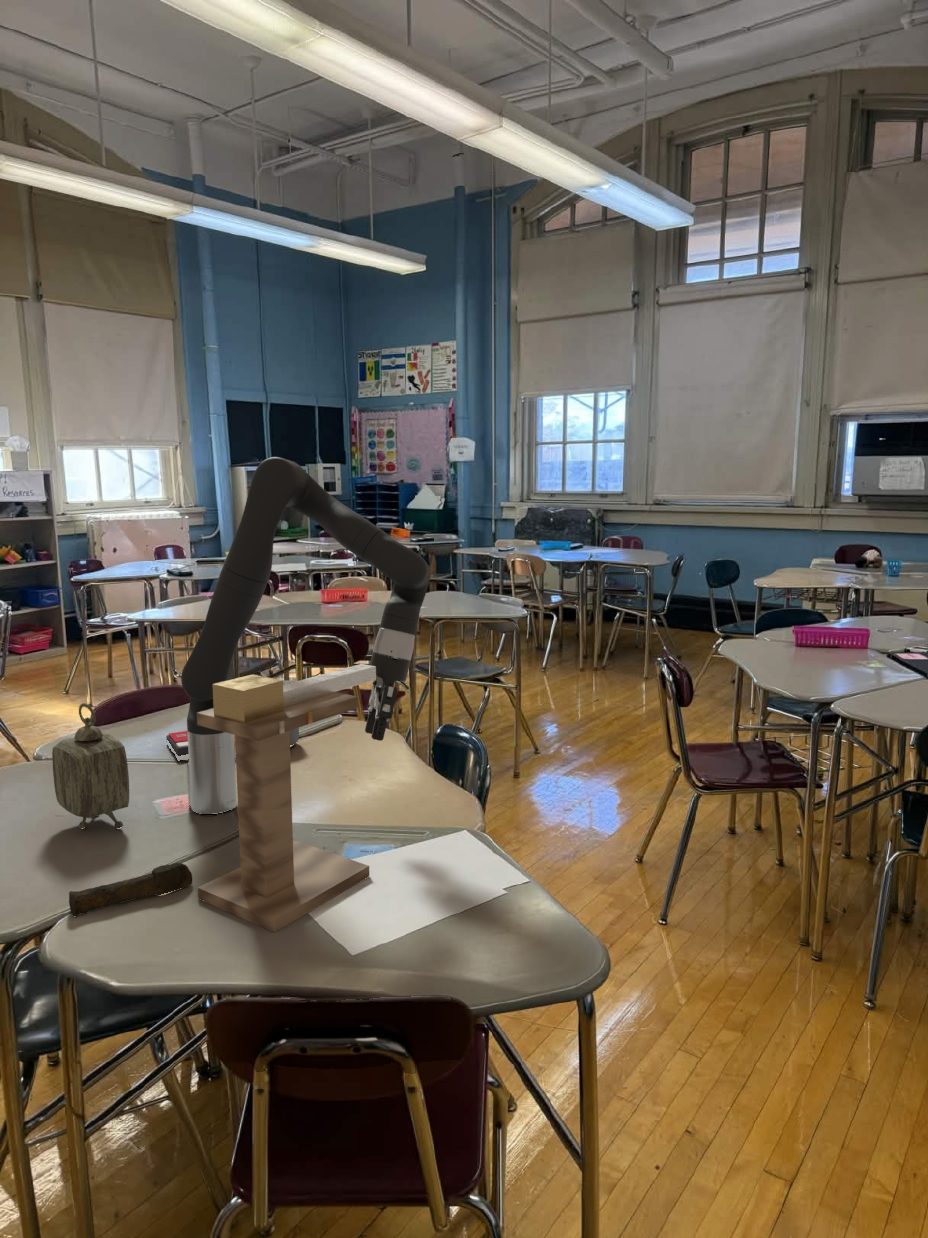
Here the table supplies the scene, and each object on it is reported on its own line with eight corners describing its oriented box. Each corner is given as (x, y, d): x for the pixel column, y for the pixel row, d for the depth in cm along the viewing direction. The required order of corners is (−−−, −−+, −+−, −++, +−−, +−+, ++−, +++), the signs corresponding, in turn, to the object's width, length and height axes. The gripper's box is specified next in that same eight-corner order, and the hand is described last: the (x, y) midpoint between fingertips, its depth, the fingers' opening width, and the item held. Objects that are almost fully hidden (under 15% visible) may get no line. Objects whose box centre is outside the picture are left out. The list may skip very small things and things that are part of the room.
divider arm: (213, 715, 129) (212, 684, 128) (354, 675, 155) (354, 649, 155) (244, 723, 125) (243, 690, 124) (383, 681, 151) (383, 654, 151)
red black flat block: (208, 726, 221) (222, 738, 208) (209, 742, 221) (223, 755, 208) (165, 732, 216) (177, 745, 203) (166, 748, 216) (178, 762, 203)
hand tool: (71, 922, 130) (69, 894, 129) (69, 911, 133) (67, 884, 133) (195, 893, 139) (194, 867, 139) (190, 883, 143) (189, 858, 142)
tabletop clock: (132, 829, 164) (124, 706, 159) (85, 844, 157) (76, 716, 153) (100, 809, 173) (91, 693, 169) (55, 822, 167) (45, 701, 163)
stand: (198, 899, 137) (188, 710, 132) (295, 850, 155) (290, 683, 149) (274, 932, 127) (267, 730, 122) (369, 876, 145) (366, 698, 139)
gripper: (367, 648, 167) (349, 728, 166) (379, 651, 153) (359, 738, 152) (403, 656, 169) (385, 735, 168) (418, 660, 155) (398, 745, 154)
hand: (373, 736), depth 160 cm, fingers open, 8 cm apart
